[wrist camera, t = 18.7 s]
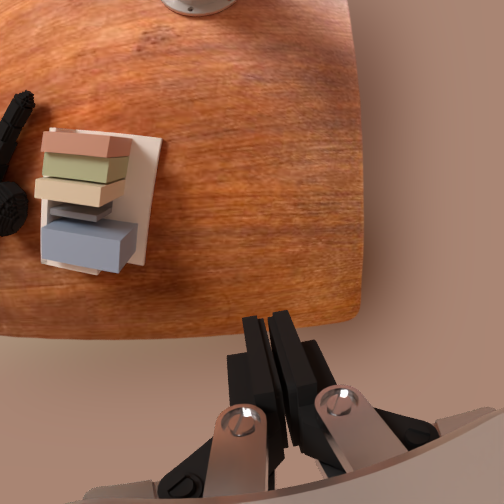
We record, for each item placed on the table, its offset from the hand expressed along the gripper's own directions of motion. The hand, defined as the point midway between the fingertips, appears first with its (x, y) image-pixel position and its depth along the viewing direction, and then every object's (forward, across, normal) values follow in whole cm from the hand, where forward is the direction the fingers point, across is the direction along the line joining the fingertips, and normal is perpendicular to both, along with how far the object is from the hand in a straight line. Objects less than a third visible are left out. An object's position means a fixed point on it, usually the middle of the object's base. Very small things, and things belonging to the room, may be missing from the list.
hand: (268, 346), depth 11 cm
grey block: (+32, +19, +1) cm, 38 cm away
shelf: (+33, +18, -4) cm, 38 cm away
